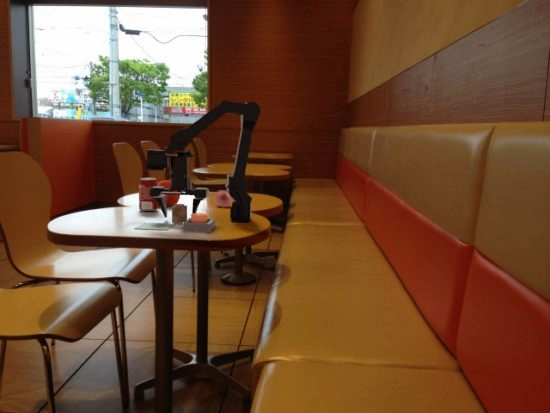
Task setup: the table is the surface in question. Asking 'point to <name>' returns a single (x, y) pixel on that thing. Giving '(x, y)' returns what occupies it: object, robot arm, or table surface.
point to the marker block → (179, 213)
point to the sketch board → (155, 226)
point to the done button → (199, 218)
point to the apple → (170, 198)
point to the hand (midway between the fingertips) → (179, 217)
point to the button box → (198, 226)
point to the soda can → (147, 195)
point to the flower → (223, 198)
